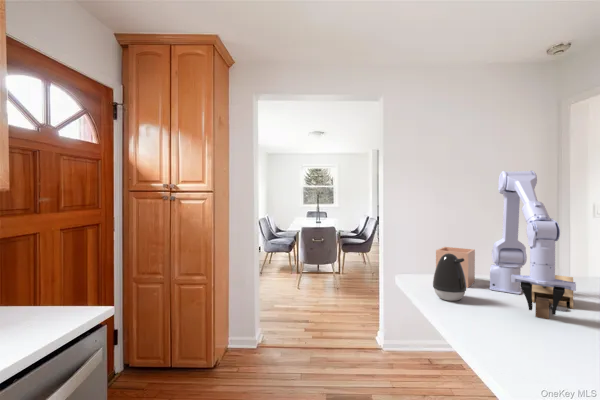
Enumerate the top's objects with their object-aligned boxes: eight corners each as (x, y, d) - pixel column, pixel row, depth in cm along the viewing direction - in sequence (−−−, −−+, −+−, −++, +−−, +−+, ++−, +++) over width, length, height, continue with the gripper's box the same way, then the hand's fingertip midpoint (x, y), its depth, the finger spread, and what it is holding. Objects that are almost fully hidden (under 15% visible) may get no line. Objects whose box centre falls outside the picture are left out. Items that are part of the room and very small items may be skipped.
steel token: (550, 310, 99) (550, 306, 99) (550, 306, 102) (550, 303, 102) (567, 313, 97) (567, 309, 97) (566, 309, 100) (566, 305, 100)
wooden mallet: (535, 316, 93) (535, 299, 93) (538, 302, 106) (538, 287, 106) (567, 322, 89) (567, 304, 89) (566, 307, 101) (566, 291, 101)
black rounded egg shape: (452, 305, 103) (453, 257, 103) (426, 296, 112) (426, 252, 112) (473, 300, 107) (474, 254, 107) (446, 292, 117) (446, 250, 117)
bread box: (530, 302, 106) (531, 277, 106) (533, 295, 113) (533, 272, 113) (573, 309, 99) (573, 283, 99) (572, 301, 107) (572, 277, 107)
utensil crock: (435, 282, 130) (436, 250, 130) (444, 277, 139) (444, 246, 139) (468, 288, 123) (468, 253, 123) (474, 281, 132) (474, 249, 132)
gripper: (510, 262, 94) (509, 309, 94) (576, 269, 85) (575, 321, 85) (513, 258, 99) (512, 303, 99) (575, 264, 90) (575, 314, 90)
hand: (542, 311), depth 92 cm, fingers open, 5 cm apart
